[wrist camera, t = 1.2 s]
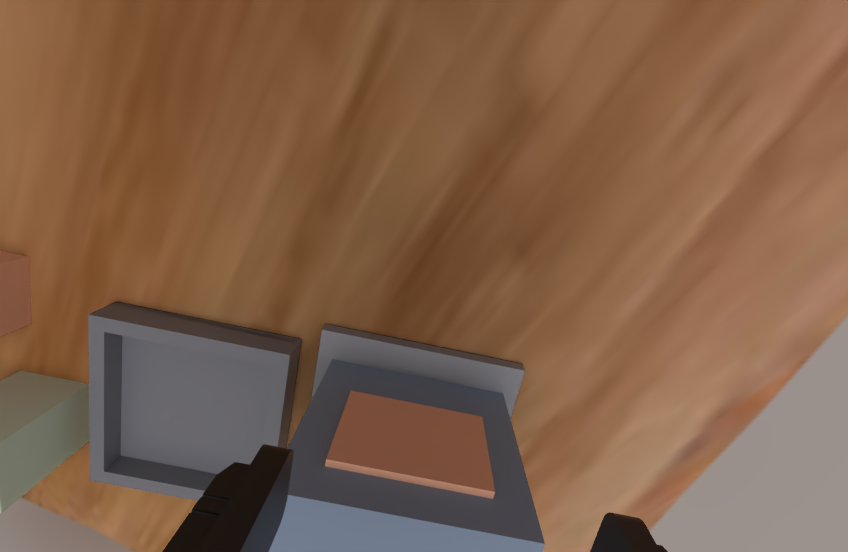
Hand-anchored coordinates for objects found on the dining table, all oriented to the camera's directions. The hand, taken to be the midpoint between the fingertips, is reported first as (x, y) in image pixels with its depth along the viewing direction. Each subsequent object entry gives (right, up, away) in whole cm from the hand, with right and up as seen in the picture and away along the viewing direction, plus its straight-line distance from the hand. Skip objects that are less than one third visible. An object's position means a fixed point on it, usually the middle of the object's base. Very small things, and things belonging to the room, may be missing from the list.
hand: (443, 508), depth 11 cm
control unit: (-1, -4, +21) cm, 21 cm away
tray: (-17, -3, +21) cm, 27 cm away
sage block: (-28, -4, +22) cm, 36 cm away
